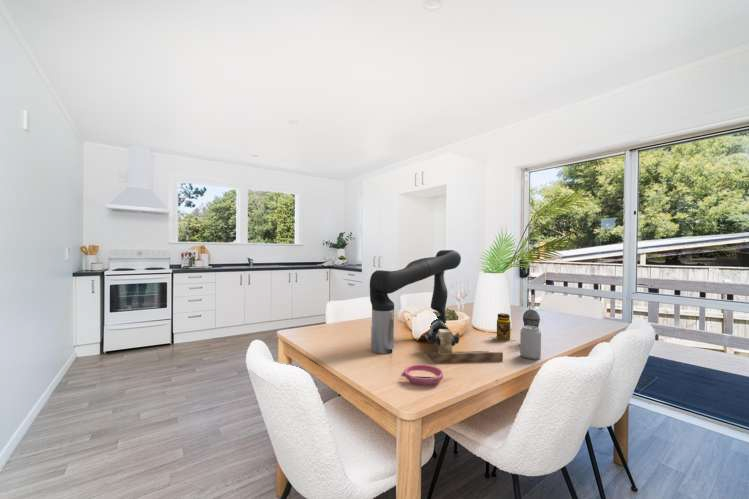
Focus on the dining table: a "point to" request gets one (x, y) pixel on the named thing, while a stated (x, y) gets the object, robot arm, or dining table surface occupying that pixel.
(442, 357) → the board
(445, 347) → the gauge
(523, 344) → the grey square jar
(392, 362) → the dining table surface
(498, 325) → the condiment
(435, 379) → the purple round open piece
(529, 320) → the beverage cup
